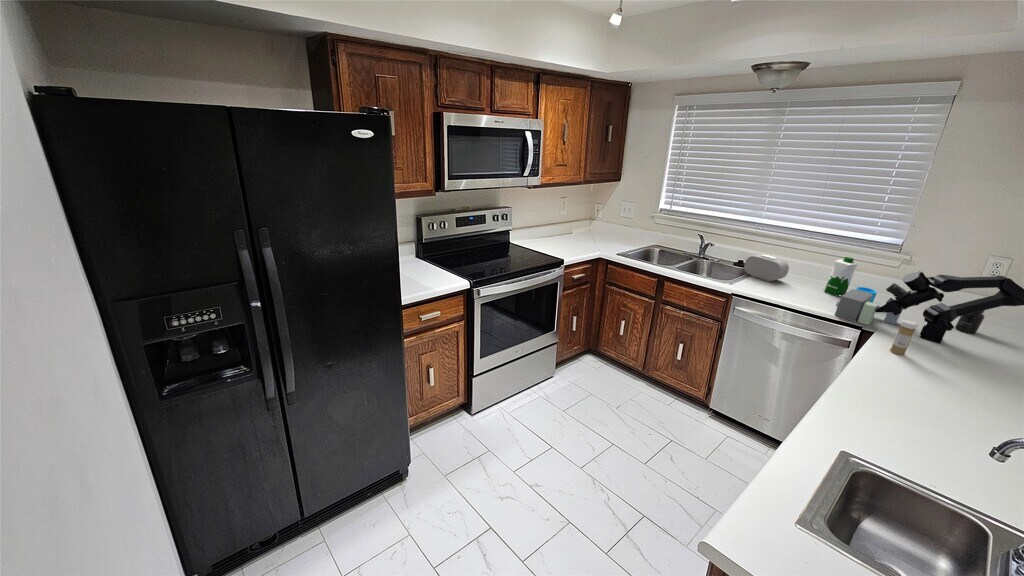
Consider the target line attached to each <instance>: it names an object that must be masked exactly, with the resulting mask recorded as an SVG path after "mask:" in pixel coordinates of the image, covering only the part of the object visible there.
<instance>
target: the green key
mask: <svg viewBox="0 0 1024 576" xmlns="http://www.w3.org/2000/svg"><path fill="white" fill-rule="evenodd" d="M839 301H840V300H838V301H837V302H836V304H835V307H836V308H837V307H838V304H839ZM878 305H879V304H878V303H874V302H873V303H871V302H866V303H865V304H864V307H863V308H860V311H859V313H861V314H860V317H859V319H857V322H858V323H861V324H864V325H868V326H869V325H870V324H871V323H872V321H873V319H874V317H875V314H876V313H877V312H876V311H875V310H876V309H877V307H878Z"/></svg>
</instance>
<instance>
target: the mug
mask: <svg viewBox="0 0 1024 576" xmlns="http://www.w3.org/2000/svg"><path fill="white" fill-rule="evenodd" d="M856 290H860V291H863V292H867V293H871V294H873V295H872V298H871V300H870V302H871V303H874V301H875V299H876V297H877V294H878V291H877V290H875V289H873V288H869V287H864V286H857V287H856Z"/></svg>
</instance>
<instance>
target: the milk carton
mask: <svg viewBox="0 0 1024 576" xmlns="http://www.w3.org/2000/svg"><path fill="white" fill-rule="evenodd" d="M857 266H858V263H856V262H854V258H853V257H849V256H845V257H844V258H843V259H836V260H833V265H832V268H831V271H830V274H829V278H828V280H827V283H826V286H825V288H824V291H823V292H824V293H826V292H828V293H827V294H829V293H831V294H830V295H832V294H834V295H833V296H835V295H837V296H836V297H840V296H839V295H844V294H845V293H847V292H848V289H849V286H850V284H851V280H852V278H853V275H854V273H855V270H856V269H857Z"/></svg>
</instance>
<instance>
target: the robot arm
mask: <svg viewBox="0 0 1024 576" xmlns="http://www.w3.org/2000/svg"><path fill="white" fill-rule="evenodd" d="M901 280H902V282H903V283H904V284H905V285H906V286H907V287H908V288H909V290H908V291H907V290H905V289H904V288H902V287H901V286H900V285H898V284H896V283H895V282H893V283H892V284H891V285H889V286H888V287H887V288H886V289H885V291H886V292H888V293H890V294H892V295H893V297H894V298H892V297H890V298H889V299H888V300H887V301H886V302H885V304H884V305H880V306H881V307H880V308H878V309H876V310H875V311H876V312H875V313H885V312H890V313H893V314H894V315H898V314H900V313H901V314H902V312H903V310H907V309H908V308H910V307H914V306H915V307H916V306H918V305H920V304H923V303H926V302H929V301H932V300H935V299H936V300H937V301H938V302H939V303H937V304H933V305H929V306H928V307H926V308H925V309H924V310H923V312H922V316H923V319H924V322H925V323H926V324H924V325H923V326H922V329H921V331H920V333H919V335H920V336H919V338H921V339H924V340H927V341H930V342H934V343H937V344H941V343H942V341H943V339H944V337H945V334H946V332H951V331H952V330H953V329H954V328H955V325H954V324H952V322H953V321H955V320H956V319H957V318H958V317H959V318H960V317H961V316H963V315H967V314H971V313H975V312H979V311H984V310H985V311H987V310H991V309H995V308H999V307H1020V306H1024V288H1023V287H1022V286H1020V284H1017V283H1016V281H1014V280H1013V279H1011V278H1009V277H1006V276H1004V275H996V276H994V275H993V276H969V277H968V276H967V277H964V276H963V277H960V276H956V275H955V276H954V275H949V274H947V275H946V274H937V275H935V276H930V277H929V276H928V277H927V276H926V274H925V273H924V272H923V271H920V270H918V271H915V272H909V273H907V274H906V275H904V276H903V277H902V278H901ZM989 288H990V289H991V288H992V289H995V288H996V289H998V290H999V291H998V292H996V293H995V294H993V295H990V296H989V295H988V296H986V297H981V298H977V299H974V300H973V299H972V300H969V301H966V302H962V303H958V304H954V305H946V303H945V304H944V303H942V301H943V300H944V299H943V298H944V297H945V295H944V293H953V292H959V291H961V290H965V289H989ZM938 290H939V291H940V292H939V291H938ZM943 292H944V293H943ZM902 308H903V309H902ZM985 311H984V312H985ZM901 314H900V315H901Z"/></svg>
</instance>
